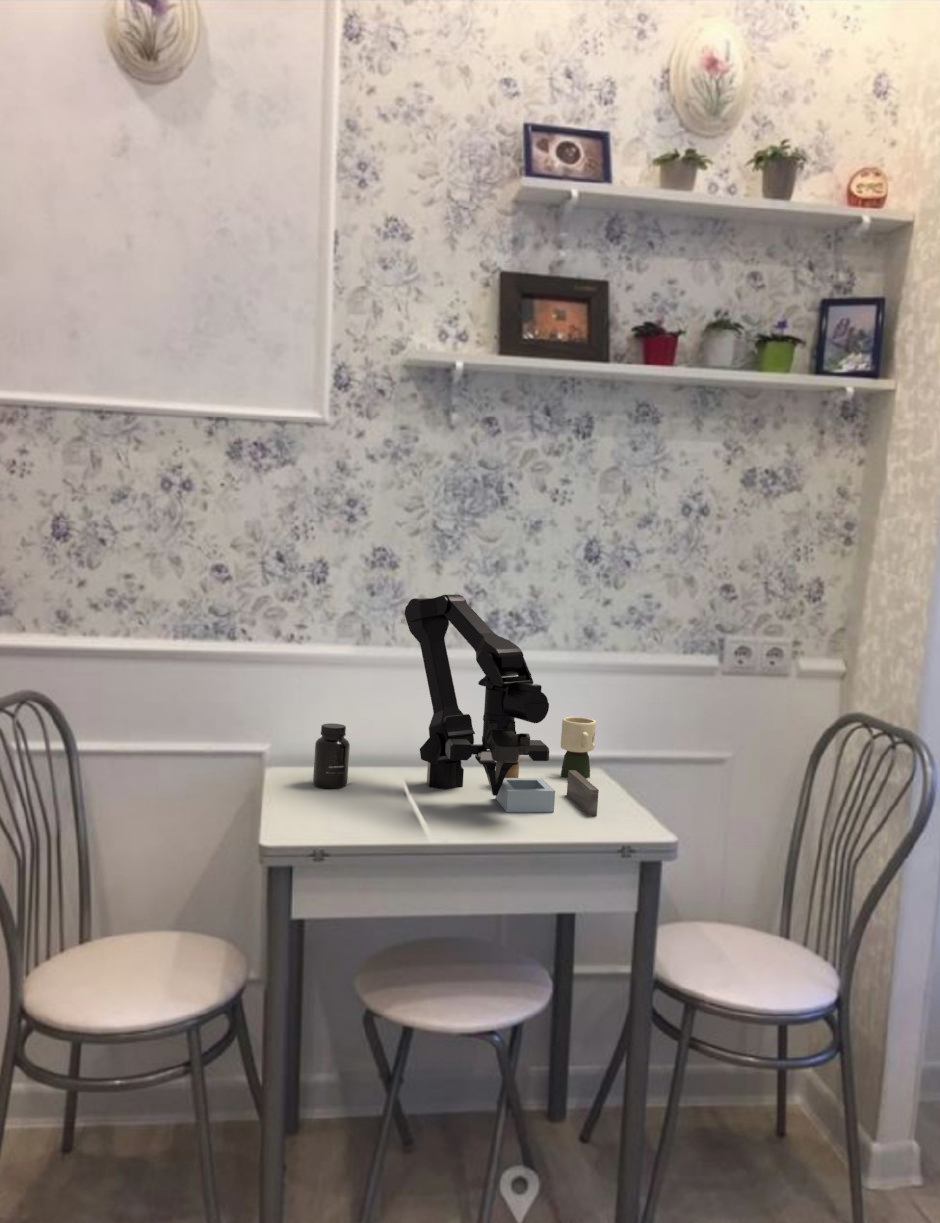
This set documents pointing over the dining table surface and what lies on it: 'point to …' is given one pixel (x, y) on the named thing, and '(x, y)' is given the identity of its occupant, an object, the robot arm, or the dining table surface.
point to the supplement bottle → (331, 757)
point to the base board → (582, 793)
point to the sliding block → (526, 795)
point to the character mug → (577, 744)
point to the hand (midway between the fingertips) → (494, 795)
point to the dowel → (513, 771)
